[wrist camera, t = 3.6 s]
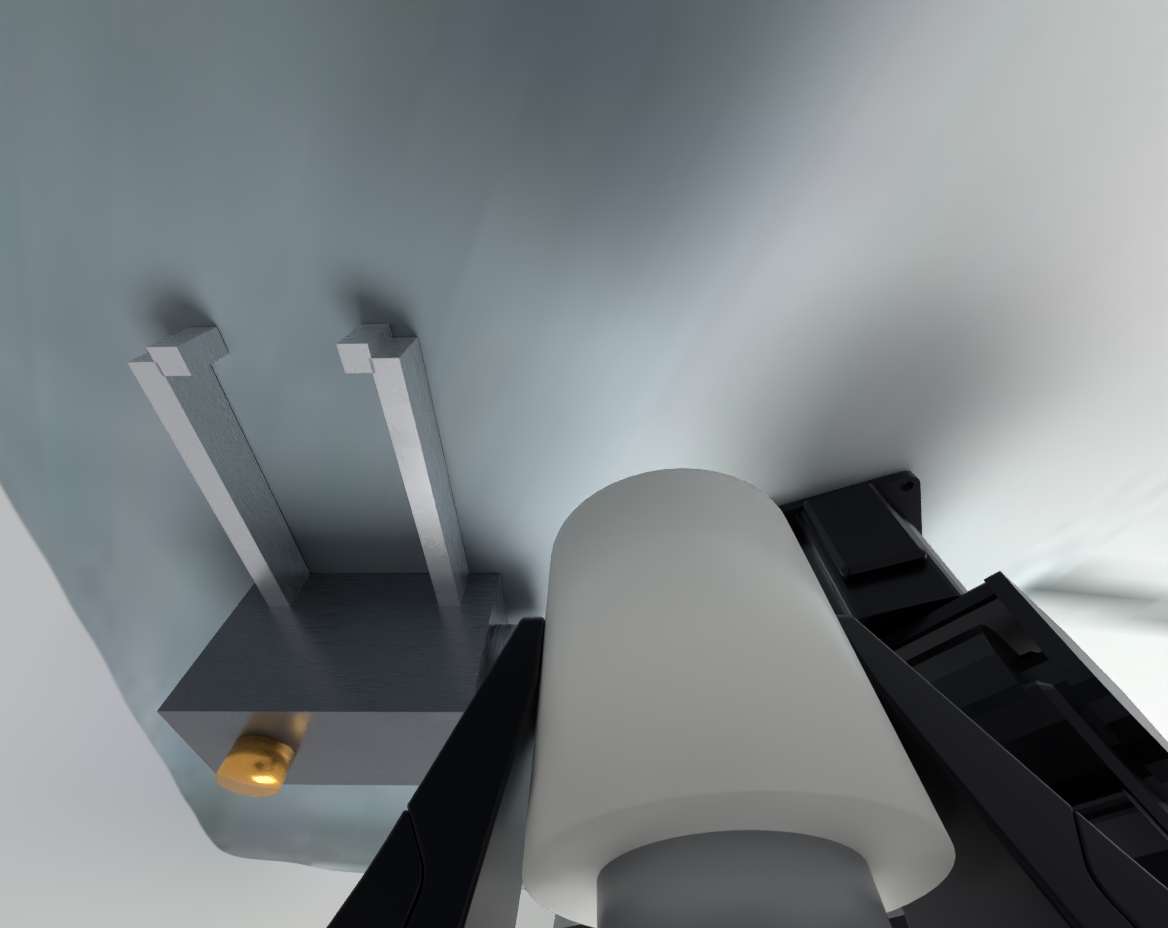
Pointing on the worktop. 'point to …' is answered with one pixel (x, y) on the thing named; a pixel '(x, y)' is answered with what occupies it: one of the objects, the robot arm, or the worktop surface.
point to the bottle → (712, 728)
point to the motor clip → (325, 598)
